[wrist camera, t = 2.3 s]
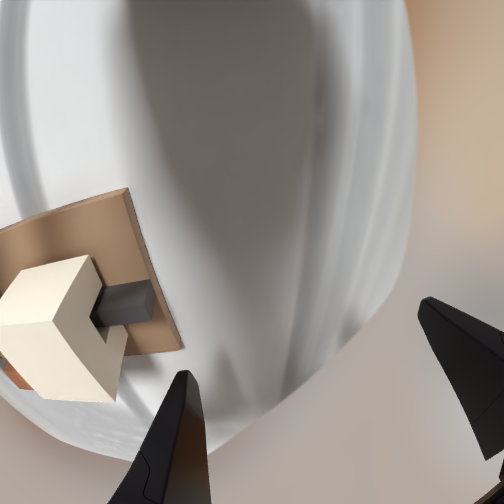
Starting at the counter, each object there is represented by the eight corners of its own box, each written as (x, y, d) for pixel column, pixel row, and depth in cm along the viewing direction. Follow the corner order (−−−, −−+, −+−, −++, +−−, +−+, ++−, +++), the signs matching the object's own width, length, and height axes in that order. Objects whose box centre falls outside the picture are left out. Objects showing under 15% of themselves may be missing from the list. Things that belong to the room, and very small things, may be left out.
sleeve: (88, 254, 12) (51, 320, 8) (128, 334, 14) (115, 401, 10) (21, 270, 11) (-18, 326, 7) (63, 340, 14) (42, 398, 10)
